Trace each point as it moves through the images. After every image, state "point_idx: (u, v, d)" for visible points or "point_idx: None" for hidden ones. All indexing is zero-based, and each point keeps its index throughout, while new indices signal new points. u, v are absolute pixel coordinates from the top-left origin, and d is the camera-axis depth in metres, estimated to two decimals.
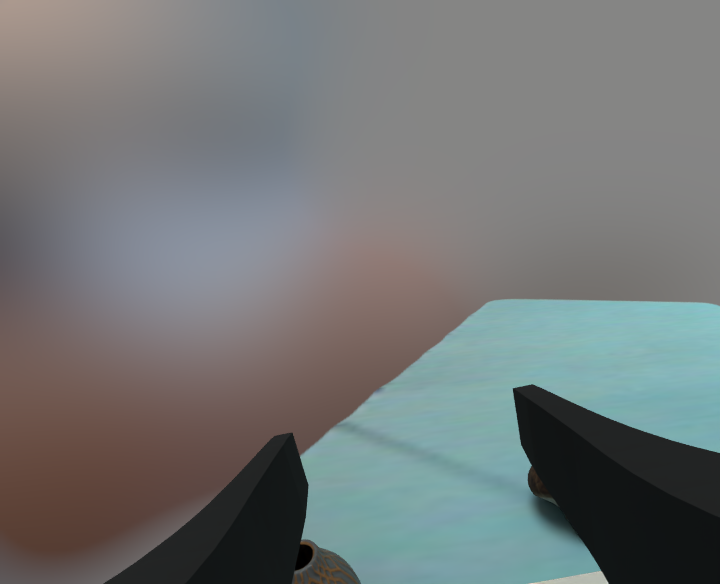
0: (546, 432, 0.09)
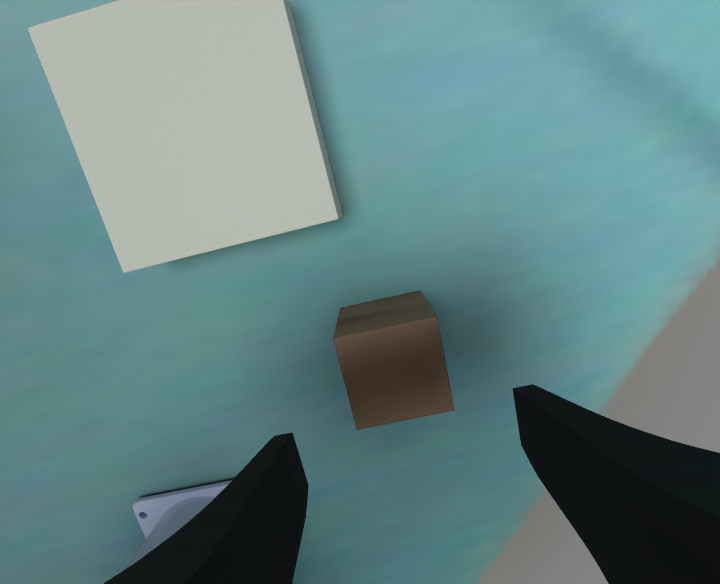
0: (546, 432, 0.09)
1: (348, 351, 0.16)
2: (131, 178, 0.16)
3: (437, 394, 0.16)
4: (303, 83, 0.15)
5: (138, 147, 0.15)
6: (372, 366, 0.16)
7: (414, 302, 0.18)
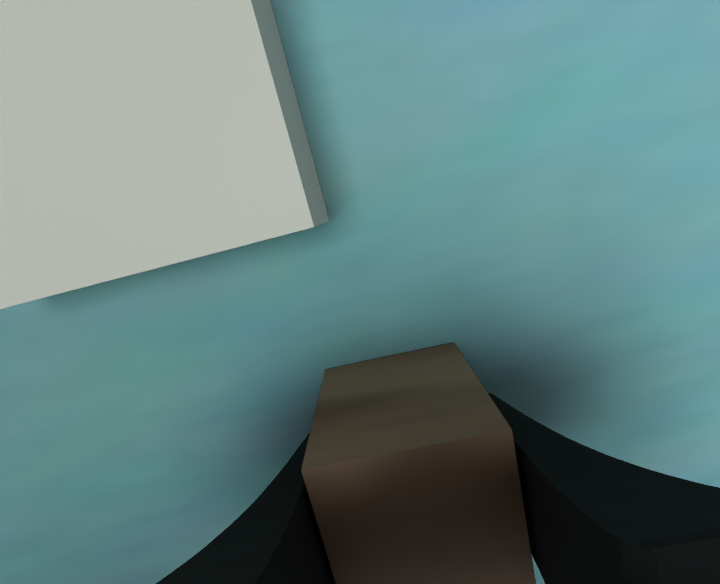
0: None
1: (331, 493, 0.08)
2: None
3: (506, 570, 0.08)
4: None
5: None
6: (379, 520, 0.08)
7: (453, 374, 0.10)
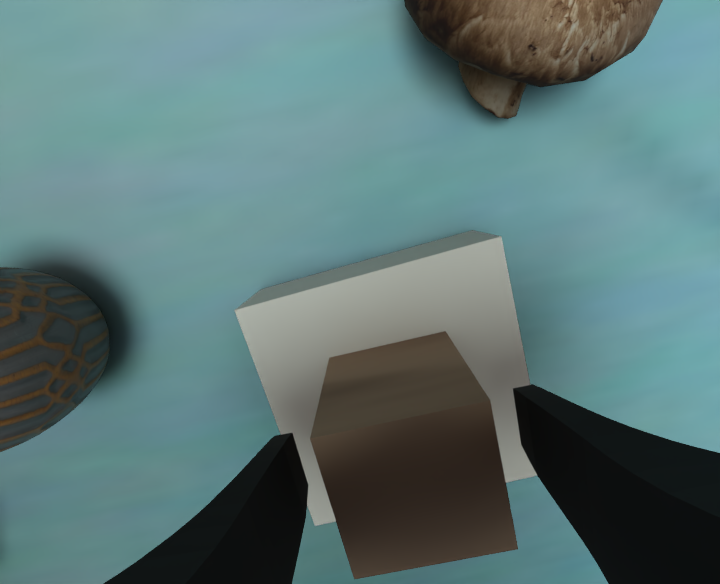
0: (546, 432, 0.09)
1: (336, 459, 0.09)
2: None
3: (489, 525, 0.10)
4: (522, 351, 0.14)
5: None
6: (378, 482, 0.09)
7: (443, 358, 0.12)
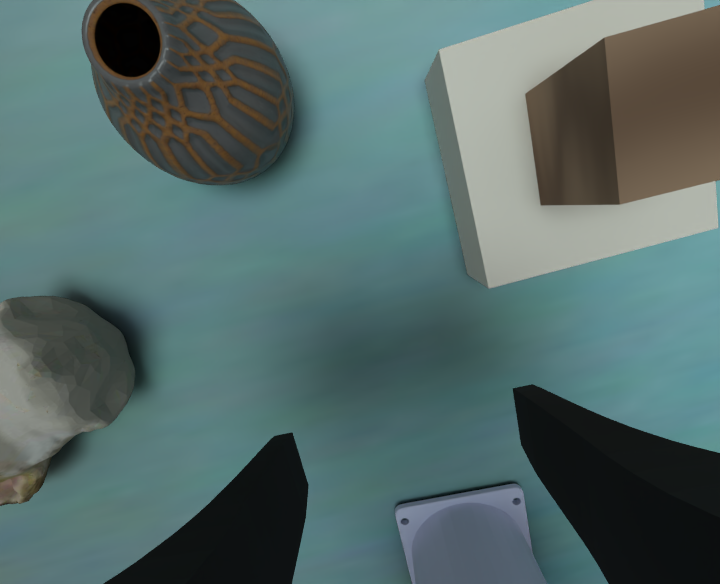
0: (546, 432, 0.09)
1: (625, 61, 0.10)
2: (514, 194, 0.16)
3: None
4: None
5: (527, 163, 0.15)
6: (660, 87, 0.10)
7: None
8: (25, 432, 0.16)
